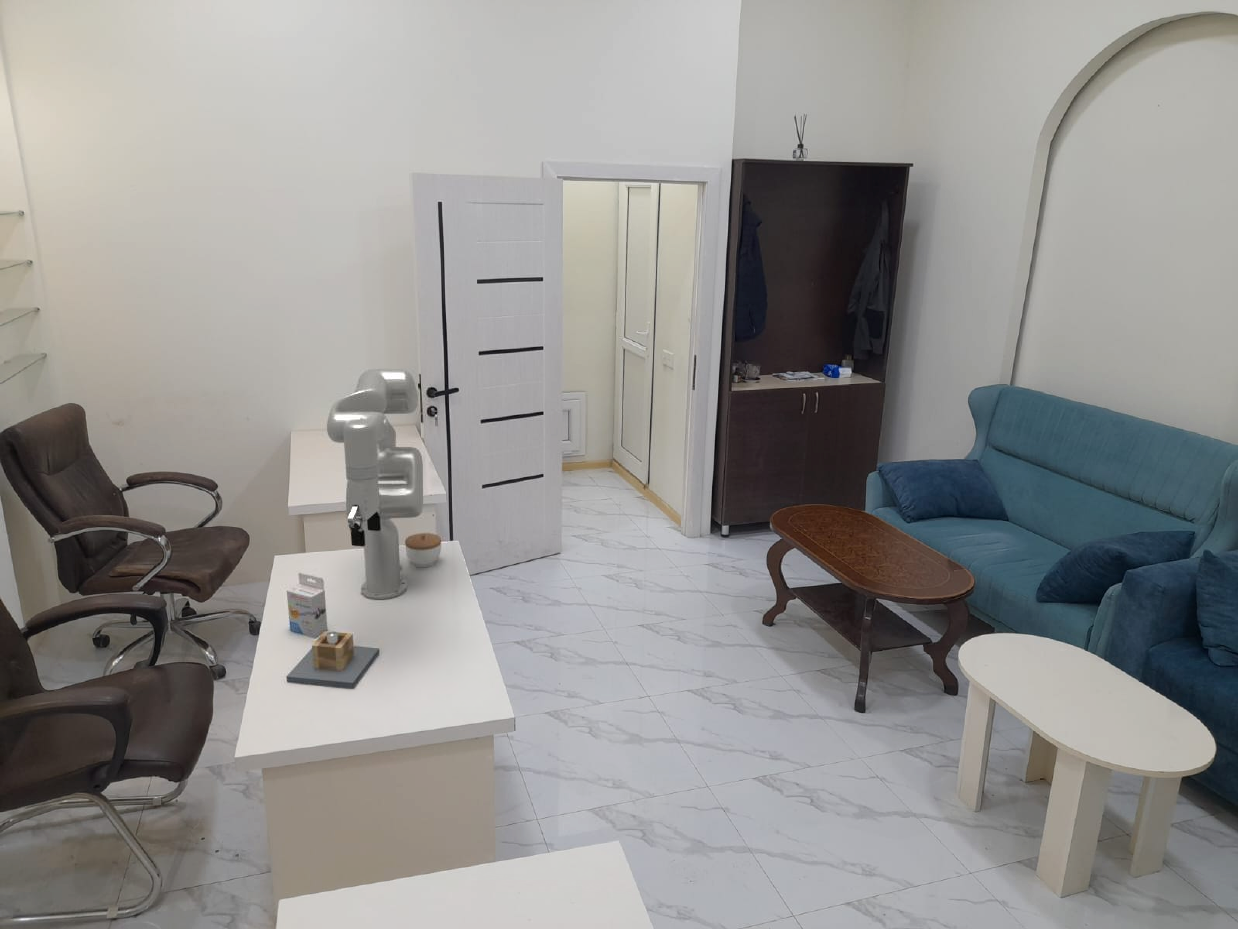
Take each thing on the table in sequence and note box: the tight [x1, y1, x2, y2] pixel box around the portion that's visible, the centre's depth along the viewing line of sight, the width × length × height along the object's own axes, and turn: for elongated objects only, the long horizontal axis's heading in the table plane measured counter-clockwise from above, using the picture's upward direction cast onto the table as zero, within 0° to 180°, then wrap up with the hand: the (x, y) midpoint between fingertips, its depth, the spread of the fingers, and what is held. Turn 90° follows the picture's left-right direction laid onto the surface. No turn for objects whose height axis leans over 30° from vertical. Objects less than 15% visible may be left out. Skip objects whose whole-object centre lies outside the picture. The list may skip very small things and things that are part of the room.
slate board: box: [285, 645, 380, 689], centre depth 212 cm, size 16×16×2 cm
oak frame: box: [311, 630, 355, 671], centre depth 211 cm, size 7×7×6 cm
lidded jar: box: [404, 532, 442, 568], centre depth 269 cm, size 11×11×9 cm
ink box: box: [286, 572, 328, 639], centre depth 227 cm, size 8×5×15 cm, turn 67°
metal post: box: [327, 631, 338, 645], centre depth 211 cm, size 2×2×8 cm
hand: (366, 537), depth 216 cm, fingers open, 9 cm apart
